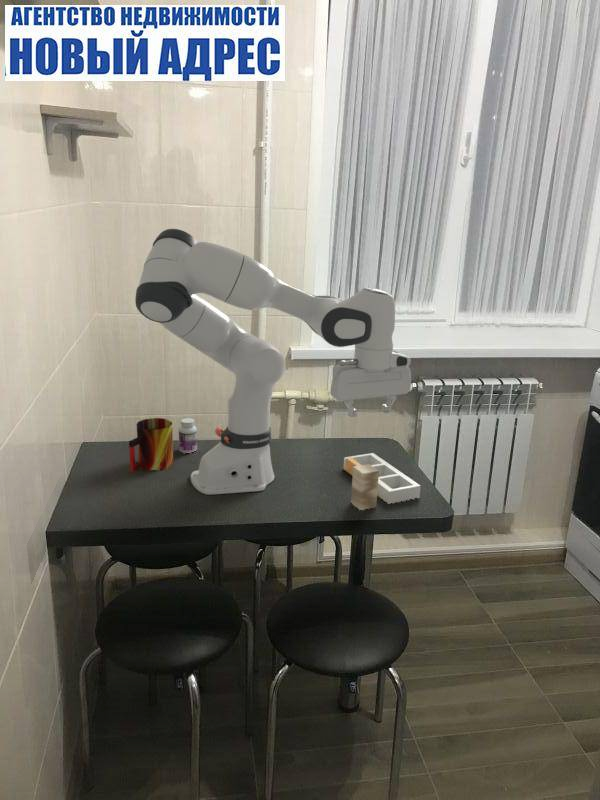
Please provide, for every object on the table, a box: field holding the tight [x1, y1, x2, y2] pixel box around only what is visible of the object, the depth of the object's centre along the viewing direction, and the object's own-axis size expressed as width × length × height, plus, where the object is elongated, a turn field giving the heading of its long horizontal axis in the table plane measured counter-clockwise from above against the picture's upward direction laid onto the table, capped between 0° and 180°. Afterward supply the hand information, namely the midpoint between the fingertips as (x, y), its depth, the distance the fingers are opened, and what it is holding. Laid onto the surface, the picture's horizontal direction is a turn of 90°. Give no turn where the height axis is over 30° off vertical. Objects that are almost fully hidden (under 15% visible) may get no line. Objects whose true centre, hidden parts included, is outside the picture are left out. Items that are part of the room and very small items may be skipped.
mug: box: [128, 417, 174, 473], centre depth 177 cm, size 10×14×12 cm
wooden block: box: [350, 464, 379, 511], centre depth 159 cm, size 5×5×10 cm
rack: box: [343, 452, 421, 505], centre depth 173 cm, size 10×24×4 cm, turn 25°
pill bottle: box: [178, 417, 198, 454], centre depth 189 cm, size 5×5×10 cm
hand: (369, 414), depth 154 cm, fingers open, 8 cm apart
